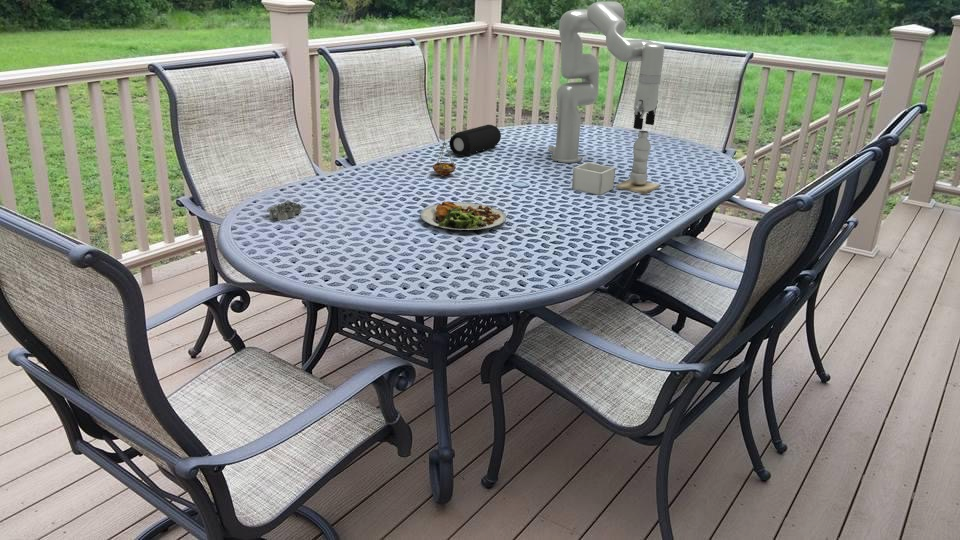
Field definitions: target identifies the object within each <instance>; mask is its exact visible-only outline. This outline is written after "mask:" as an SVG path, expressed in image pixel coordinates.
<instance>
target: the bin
mask: <svg viewBox="0 0 960 540" xmlns="http://www.w3.org/2000/svg"><path fill="white" fill-rule="evenodd" d="M615 174H616V167H614V166H609V165H603V164H598V163H593V162H590V161H587V162H584V163H582V164H579V165H577V166H574V167H573V169H572V179H571V180H572V183H571V189H573V190H575V189H576V191H580V192H585V193H589V194H593V195H599V196H601V195H603V194H605V193H607V192H609V191H611V190H613V189H614V185H615V184H614V183H615Z"/></svg>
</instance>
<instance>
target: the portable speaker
mask: <svg viewBox="0 0 960 540" xmlns="http://www.w3.org/2000/svg"><path fill="white" fill-rule="evenodd" d="M501 140H502V134H501V130H500V129H499V127H497V126H495V125H493V124H484V125H482V126H477V127H472V128H469V129H466V130H462V131H458V132H455V133H454V134H453V135H452V136H451V137H450V139H449V144H448V145H449V148H450V150H451V152H452V153H453V154H454V155H456V154H457V156H460V155H465V156H468V155H471V154H470V153H472V154H474V153H473V152H475V153H477V152H476V151H479V150H482V151H484V150H483V149H485V150H487V149H486V148H489V149H491V148H494V147H496V146H497V145H498V144H499V143H500V142H501ZM479 152H480V151H479ZM467 154H468V155H467Z"/></svg>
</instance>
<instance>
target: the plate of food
mask: <svg viewBox="0 0 960 540" xmlns="http://www.w3.org/2000/svg"><path fill="white" fill-rule="evenodd" d="M420 218H421V219H422V220H423V221H424V222H426V224H429V225H431V226H436V227H439V228H441V229H442V228H443V229H449V230H458V231H462V230H465V231H466V230H467V231H469V230H482V229H483V230H484V229H489V228H493V227H497V226H499V225H502V224H503V223H504V222H505V221H506V219H507V214H506V213H505V212H503V211H502V210H500V209H499V208H497V207H493V206H490V205H487V204H481V203H476V202H475V203H474V202H464V201H463V202H461V201H460V202H458V201H457V202H456V201H455V202H454V201H452V202H451V201H445V200H443V201H442V202H440V203H437V204H433V205H430V206H427V207H425V208H423V209H422V210H421V212H420Z"/></svg>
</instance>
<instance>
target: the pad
mask: <svg viewBox="0 0 960 540" xmlns="http://www.w3.org/2000/svg"><path fill="white" fill-rule="evenodd" d="M615 188H616V189H621V190H625V191H628V190H629V192H634V193H639V194H643V195H647V194H649V193H650V192H653V191H654V190H657V189H658V188H660V184H658V183H654V182H650V181H646V183H645V184H644V185H634V184H632V183H631V182H630V178H628V179H627V180H625V181H622V182H620V183H618V184H616V185H615Z"/></svg>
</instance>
